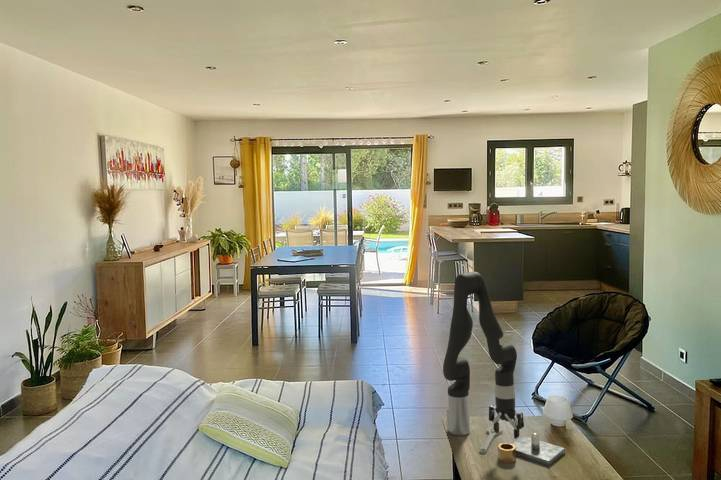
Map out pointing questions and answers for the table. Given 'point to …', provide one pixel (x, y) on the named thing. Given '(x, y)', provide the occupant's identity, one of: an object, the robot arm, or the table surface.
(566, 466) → the table surface
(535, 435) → the block
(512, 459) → the wooden octagonal ring
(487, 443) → the adjustable wrench
